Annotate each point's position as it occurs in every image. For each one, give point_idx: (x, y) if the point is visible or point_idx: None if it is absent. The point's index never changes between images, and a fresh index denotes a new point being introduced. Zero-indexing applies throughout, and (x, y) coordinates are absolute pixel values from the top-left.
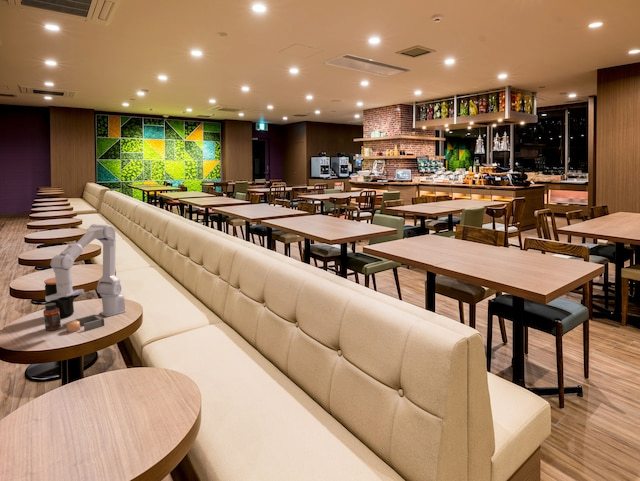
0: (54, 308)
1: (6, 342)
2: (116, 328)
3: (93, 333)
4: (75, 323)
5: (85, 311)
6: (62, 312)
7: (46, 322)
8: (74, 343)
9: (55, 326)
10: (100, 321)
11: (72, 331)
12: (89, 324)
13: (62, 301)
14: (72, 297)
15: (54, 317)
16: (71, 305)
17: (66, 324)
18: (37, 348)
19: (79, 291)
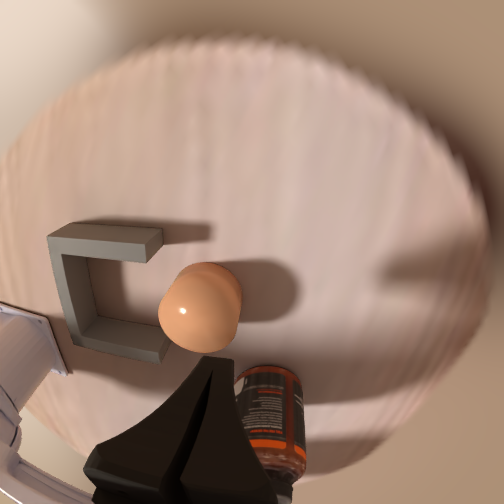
0: None
1: (447, 370)
2: (48, 125)
3: (149, 142)
4: (189, 299)
5: (111, 423)
6: None
7: (303, 415)
8: (305, 72)
9: (271, 377)
10: (67, 233)
11: (225, 271)
12: (123, 237)
13: (264, 488)
14: (102, 480)
15: (268, 420)
16: None
17: (235, 333)
18: (454, 195)
19: (8, 487)
